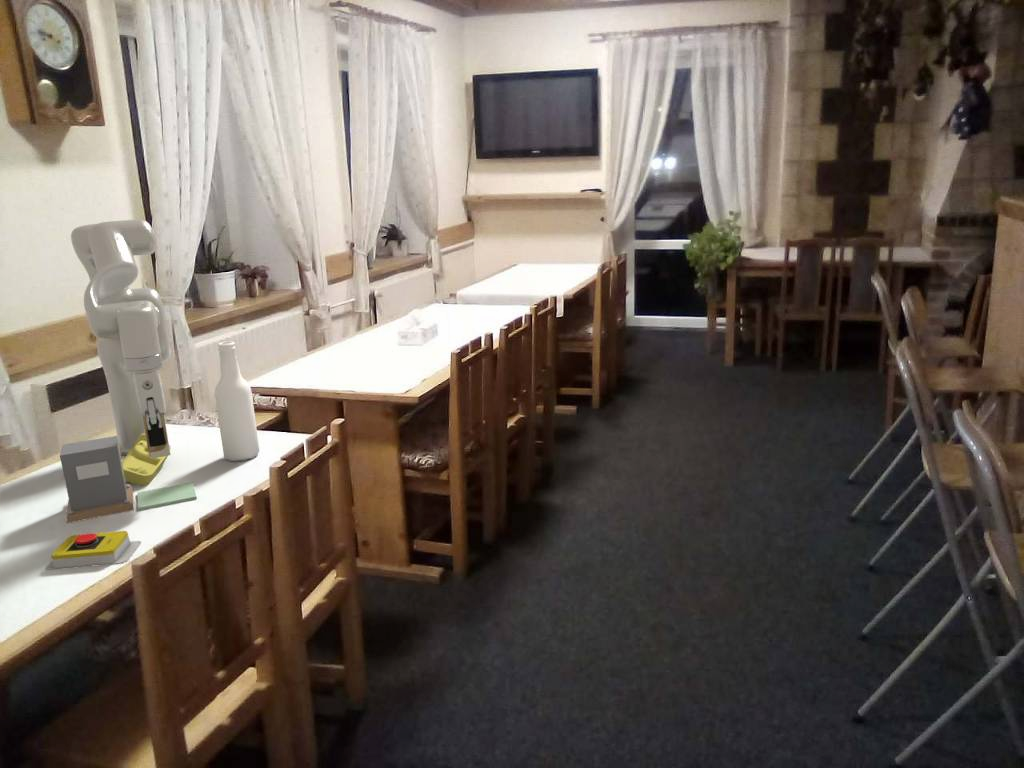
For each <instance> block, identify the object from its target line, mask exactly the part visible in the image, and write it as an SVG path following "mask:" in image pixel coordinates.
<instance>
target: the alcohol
mask: <svg viewBox="0 0 1024 768" xmlns="http://www.w3.org/2000/svg"><path fill="white" fill-rule="evenodd" d="M235 344H236V343H235V342H234V341H231V340H230V341H221V342H219V343H218V344H217V346H218V348H217V349H218V351H219V362H220V363H219V365H220V368H219V369H220V377H219V378H220V380H219V381H218V383H217V384H216V386H215V390H214V398H215V406H216V410H217V419H218V426H219V432H220V433H219V434H220V439H221V445H222V452H223V457H224V458H225V459H226V460H227V461H229V460H230V461H229V462H243V460H245V461H249V460H252V459H254V458H256V457H257V456H258V455H259V453H260V444H259V437H258V431H257V429H258V428H257V422H256V421H257V420H256V417H255V409H254V401H253V399H254V398H253V394H252V388H251V386H250V383H249V382H248V381H247V380H246V378H245V379H244V378H243V376H242V374H241V370H240V366H239V362H238V358H237V354H236V346H235ZM255 456H256V457H255ZM253 457H254V458H253ZM251 458H252V459H251ZM248 459H249V460H248Z"/></svg>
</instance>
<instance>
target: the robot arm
mask: <svg viewBox="0 0 1024 768" xmlns="http://www.w3.org/2000/svg"><path fill="white" fill-rule="evenodd" d="M70 240H71V244H72V248H73V250H74V253H75V255H76V256H77V259H79V261H80V263H81V264H82V266H83V267H84V269H85V272H86V273H87V275H88V278H89V283H88V284H87V285H86V288H85V291H84V293H83V307H84V310H85V311H84V312H85V315H86V319H87V322H88V326H89V328H90V331H91V333H92V335H93V336H94V337H96V338H98V339H99V341H98V343H96V344H97V346H96V350H97V355H98V358H99V361H100V363H101V367H102V369H103V373H104V375H105V380H106V383H107V387H108V388H107V389H108V393H109V399H110V404H111V410H112V415H113V420H114V421H113V422H114V426H115V430H116V436H117V437H118V443H119V448H120V453H121V456H122V455H123V456H124V455H125V456H127V454H128V453H129V451H130V450H131V448H132V447H133V445H134V444H135V442H136V440H137V439H138V437H139V436H140V435H141V434H145V429H144V423H143V417H142V415H143V416H144V417H146V419H147V425H148V429H147V432H148V438H149V443H150V446H151V447H154V446H160V445H165V444H166V442H165V436H164V430H163V427H162V426H161V420H160V414H159V412H160V413H163V414H164V415H166V413H167V408H166V401H165V395H164V389H163V383H162V378H161V372H160V370H162V369H163V368H164V363H166V362H168V361H169V360H170V359H171V357H172V347H171V342H170V336H169V335H170V334H169V330H168V325H167V324H168V322H167V319H166V318H167V317H166V313H165V308H164V304H163V300H162V297H161V295H160V293H159V292H158V291H157V290H156V289H154V288H150V287H140V288H132V289H131V288H130V287H129V286H131V285H132V284H133V283H134V282H135V281H136V280H137V278H138V275H139V267H138V265H137V263H136V259H135V257H134V256H143V255H153V254H154V253H155V251H156V248H157V238H156V233H155V231H154V229H153V227H152V226H151V224H150V223H149V222H148V221H147V220H144V219H128V220H112V221H101V222H98V223H92V224H84V225H81V226H77V227H76V228H74V229H72V231H71V234H70ZM153 399H154V402H153ZM147 403H148V405H147ZM146 409H147V410H146ZM155 410H157V413H158V414H155ZM147 412H149V415H148V414H147ZM145 413H146V414H145ZM145 415H146V416H145ZM156 417H158V419H157V418H156ZM149 418H150V420H149ZM158 423H159V425H158Z"/></svg>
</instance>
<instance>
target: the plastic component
mask: <svg viewBox="0 0 1024 768" xmlns="http://www.w3.org/2000/svg"><path fill="white" fill-rule="evenodd" d="M169 448H170V451H171V449H172V447H171V445H170V444H169ZM168 457H169V456H163V457H158V458H152V459H150V456H149V452H148V446H147V441H146V435H145V434H141V435H140V436H139V437H138V439H137V440H136V442H135V444H134V445H133V447H132V448H131V450H130V451H129V453H128V454H127V455H125V457H124V458H123V459H122V464H123V469H124V475H125V480H126V483H128V484H131V485H136V486H141V487H144V486H147V485H149V484H150V483H151V482H152V481H153V480H154V478H155V477H156V476H157V474H159V472H160V471H161V470H162V468H163V466H164V463H165V462H166V460H167V459H168Z"/></svg>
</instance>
